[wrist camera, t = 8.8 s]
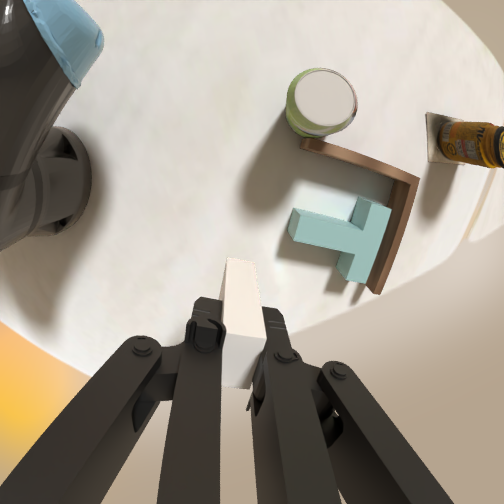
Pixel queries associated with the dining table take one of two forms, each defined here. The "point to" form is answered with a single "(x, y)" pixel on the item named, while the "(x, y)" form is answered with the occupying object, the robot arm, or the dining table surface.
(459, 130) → the condiment
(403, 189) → the corner fence
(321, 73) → the beverage can
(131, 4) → the dining table surface
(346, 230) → the t block
